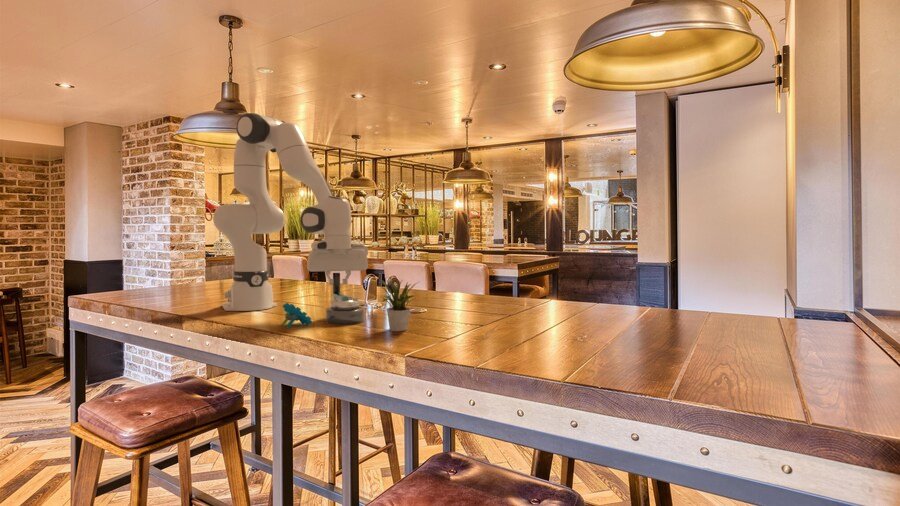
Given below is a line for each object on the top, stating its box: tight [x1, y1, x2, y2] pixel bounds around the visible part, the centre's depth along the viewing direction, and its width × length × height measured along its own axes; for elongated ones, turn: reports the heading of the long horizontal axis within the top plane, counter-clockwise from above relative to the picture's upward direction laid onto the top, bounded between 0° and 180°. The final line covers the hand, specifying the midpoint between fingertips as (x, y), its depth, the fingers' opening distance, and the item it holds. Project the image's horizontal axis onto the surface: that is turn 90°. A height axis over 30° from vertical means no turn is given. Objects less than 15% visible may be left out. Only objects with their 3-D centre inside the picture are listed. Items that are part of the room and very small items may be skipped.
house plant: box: [378, 278, 420, 332], centre depth 145 cm, size 14×14×16 cm
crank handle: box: [330, 272, 360, 310], centre depth 161 cm, size 16×9×11 cm, turn 29°
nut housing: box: [325, 305, 365, 326], centre depth 159 cm, size 12×12×4 cm
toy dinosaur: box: [281, 302, 313, 329], centre depth 149 cm, size 11×6×10 cm
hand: (338, 284), depth 167 cm, fingers open, 3 cm apart
